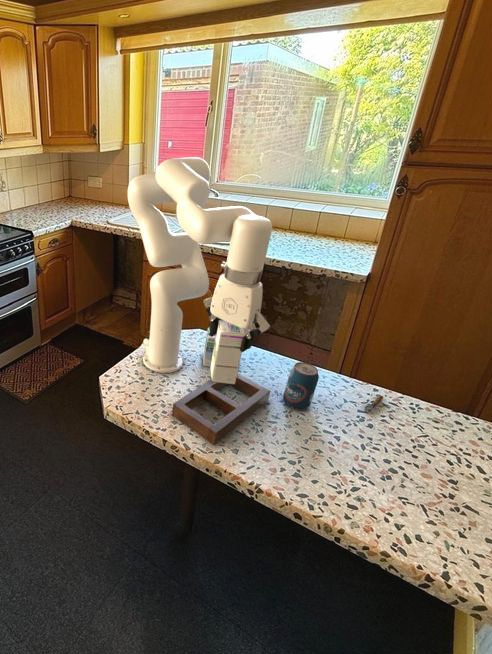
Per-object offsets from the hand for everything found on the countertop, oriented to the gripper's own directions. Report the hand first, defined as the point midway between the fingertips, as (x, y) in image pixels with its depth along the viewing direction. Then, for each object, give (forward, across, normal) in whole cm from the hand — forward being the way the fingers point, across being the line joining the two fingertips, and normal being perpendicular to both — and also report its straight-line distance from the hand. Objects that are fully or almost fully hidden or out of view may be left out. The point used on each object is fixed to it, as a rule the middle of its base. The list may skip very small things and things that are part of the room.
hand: (228, 341), depth 94 cm
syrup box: (+11, 0, 0) cm, 11 cm away
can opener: (+24, +26, +38) cm, 52 cm away
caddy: (+24, -1, +5) cm, 25 cm away
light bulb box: (+25, -14, +23) cm, 37 cm away
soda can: (+25, +12, +22) cm, 35 cm away
